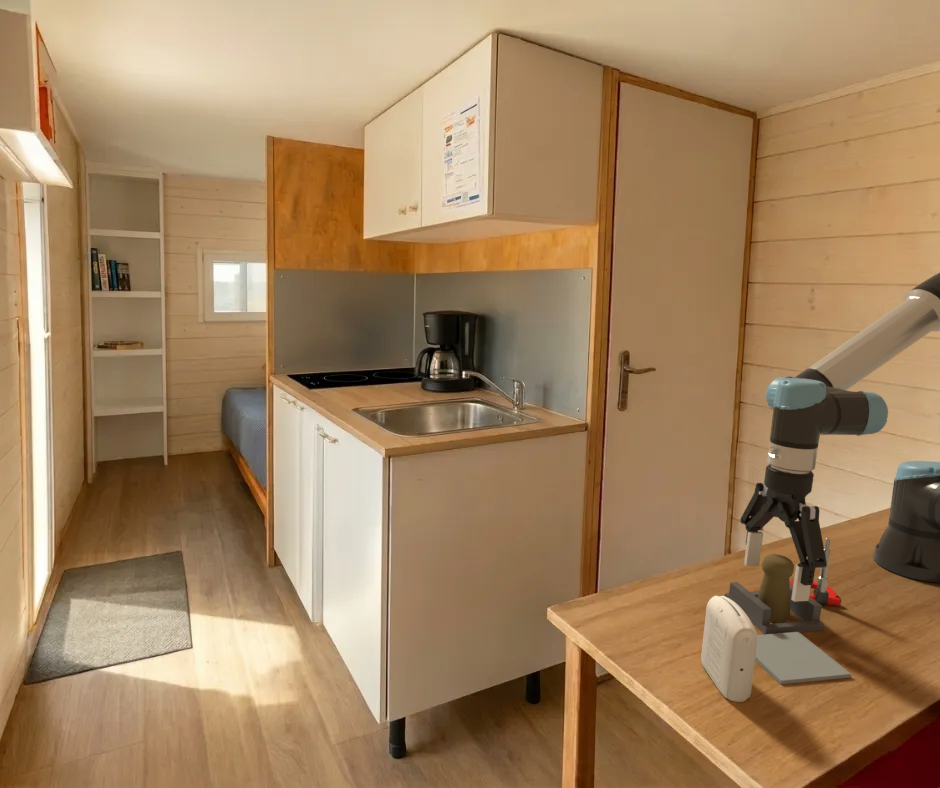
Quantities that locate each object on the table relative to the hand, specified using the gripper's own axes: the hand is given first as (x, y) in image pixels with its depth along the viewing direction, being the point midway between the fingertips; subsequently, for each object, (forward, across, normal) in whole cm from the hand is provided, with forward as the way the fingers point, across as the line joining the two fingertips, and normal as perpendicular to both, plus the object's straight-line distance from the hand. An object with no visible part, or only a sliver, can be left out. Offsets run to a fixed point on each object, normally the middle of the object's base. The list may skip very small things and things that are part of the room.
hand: (774, 581), depth 117 cm
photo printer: (+7, +17, -20) cm, 27 cm away
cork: (+7, 0, 0) cm, 7 cm away
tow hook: (+6, -6, +13) cm, 16 cm away
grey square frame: (+6, 0, 0) cm, 6 cm away
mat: (+6, +13, -6) cm, 15 cm away
